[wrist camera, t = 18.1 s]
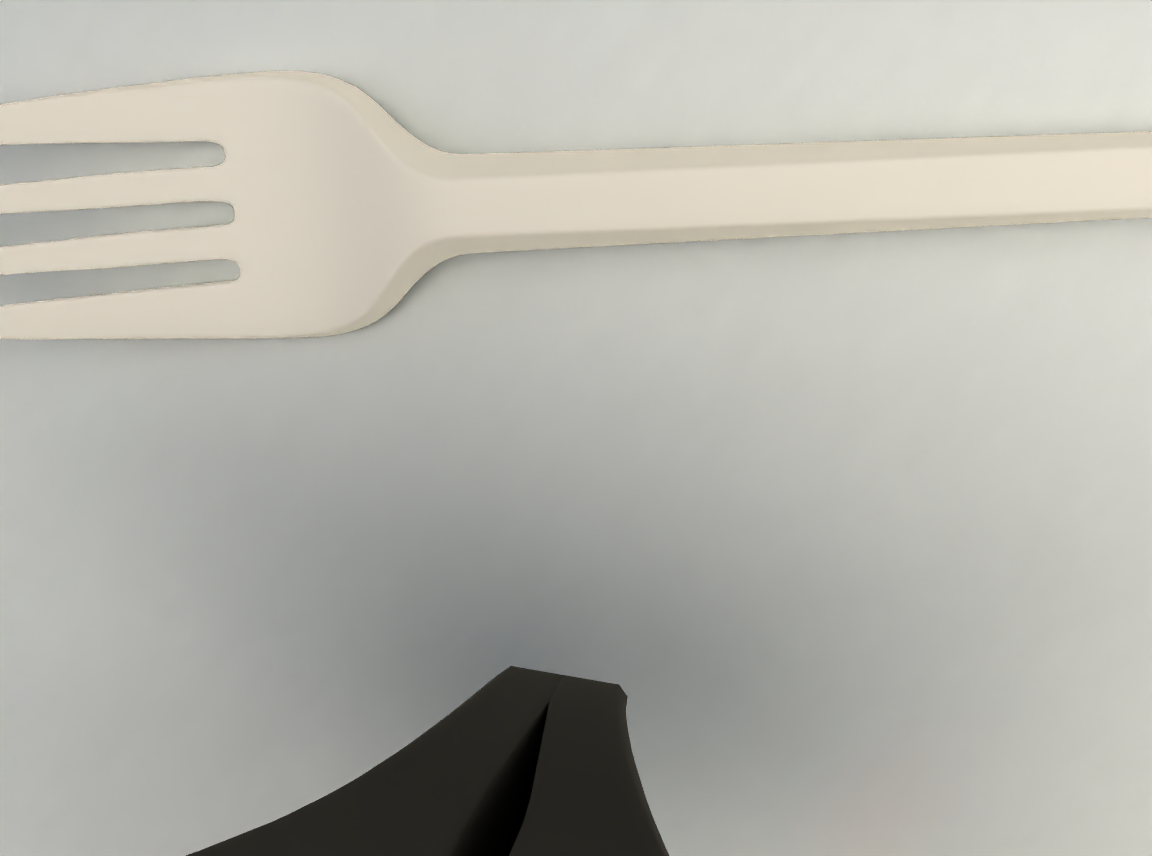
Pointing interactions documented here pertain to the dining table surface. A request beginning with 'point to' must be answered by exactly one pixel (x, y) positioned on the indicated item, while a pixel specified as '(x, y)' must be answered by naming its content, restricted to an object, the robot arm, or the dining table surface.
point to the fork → (474, 200)
